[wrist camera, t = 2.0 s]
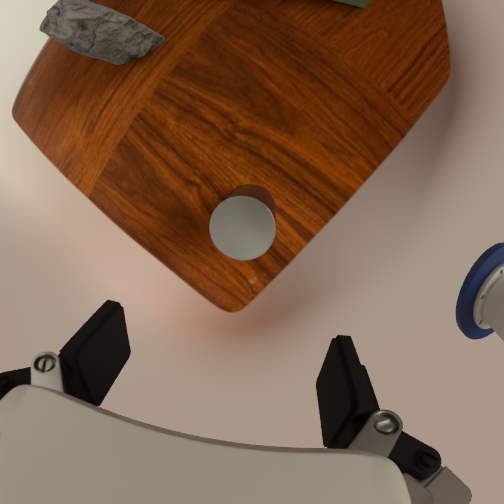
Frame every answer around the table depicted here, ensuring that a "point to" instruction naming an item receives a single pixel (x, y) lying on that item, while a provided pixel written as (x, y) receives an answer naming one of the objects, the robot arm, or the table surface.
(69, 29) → the decorative rock
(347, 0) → the green block
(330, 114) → the table surface
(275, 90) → the table surface
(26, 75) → the table surface
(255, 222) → the silver metal cylinder
